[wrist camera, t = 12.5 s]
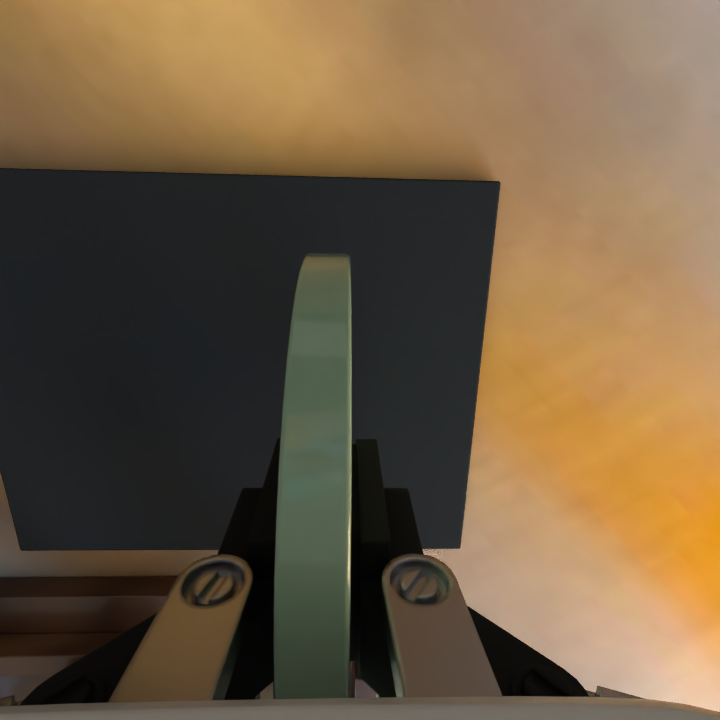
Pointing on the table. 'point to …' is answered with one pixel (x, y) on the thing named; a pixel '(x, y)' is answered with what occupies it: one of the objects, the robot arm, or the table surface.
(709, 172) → the table surface
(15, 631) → the plate rack
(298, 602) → the green plate
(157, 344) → the mat
